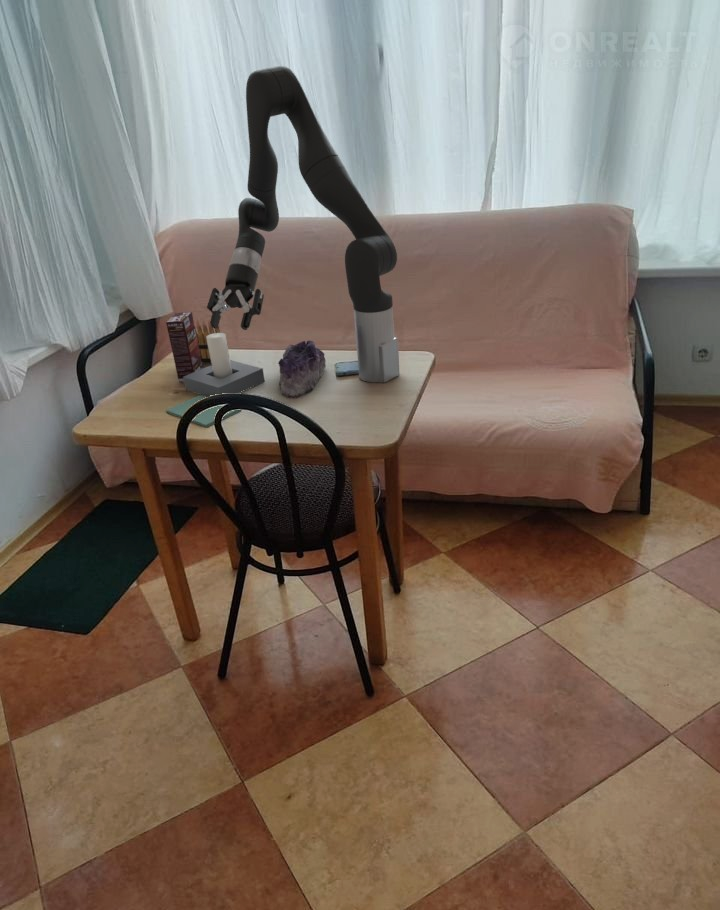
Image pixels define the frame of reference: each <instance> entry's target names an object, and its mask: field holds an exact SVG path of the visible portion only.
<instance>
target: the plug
mask: <svg viewBox="0 0 720 910" xmlns="http://www.w3.org/2000/svg"><path fill="white" fill-rule="evenodd" d="M206 339H207V344H208V349H209V354H210V359H211V363H210V364H211V365H212V369H213V373H214V377H217V378H220V379H222V378H224V377H227V376H229V375H231V374H233V373H232V367H231V362H230V360H231V358H230V352H229V351H230V350H229V347H228V341H227V336H226V333H225V332H220V333H215V332H214V333H213V334H210V335H208V336H206Z"/></svg>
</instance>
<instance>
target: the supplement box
mask: <svg viewBox="0 0 720 910" xmlns="http://www.w3.org/2000/svg"><path fill="white" fill-rule="evenodd" d="M165 324H166V325H165V326H166V329H167V332H168V333H167V334H168V339H169V343H170V347H171V351H172V355H173V356H172V357H173V360H174V365H175V370H176V374H177V375H176V376H177V379H178V382H180V383H181V382H183V383H184V379H183V377H184V376H186V375H189V374H191V373H194V372H196V371H199V370H201V369H203V368H204V366H203V363H202V360H201V355H200V350H199V345H198V340H197V336H196V331H197V330H196V331H195V327H196V325H195V326H194V324H195V321H194V316H193V312H192V311H191V312H189V311H186V312H175V313H174V315H173V316H171V318H170V319H168V320H167V321H166V323H165Z"/></svg>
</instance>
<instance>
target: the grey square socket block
mask: <svg viewBox="0 0 720 910" xmlns="http://www.w3.org/2000/svg"><path fill="white" fill-rule="evenodd" d="M230 362H231V367H232V373H233V374H231V375H229V376H227V377H224V378H222V379H220V378H217V377H214V373H213V369H212V364H211V365H208V366H206V367H203V369H201V370H199V371H196V372H194V373H191V374H189V375H186V376H184V377H183V379H184V382H183V384H184V387H185V388H184V389H185V390H186V391H188V392H191V393H194V394H198V395H202V396H205V397H207V396H210V395H215V394H222V393H238V394H240V393H242V392H241V391H243V390H245V391H247V390H249V389H251V388H250V387H252V388H253V386H254V387H256V386H257V385H260V384H263V383H264V382H266V380H265V375H264V368H263V367H258V366H255V365H252V364H248V363H244V362H243V363H242V362H239V361H235V360H231V359H230ZM248 388H249V389H248ZM246 389H247V390H246ZM243 392H244V391H243Z"/></svg>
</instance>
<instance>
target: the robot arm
mask: <svg viewBox="0 0 720 910" xmlns="http://www.w3.org/2000/svg"><path fill="white" fill-rule="evenodd" d="M245 88H246V89H245V103H246V117H247V118H246V119H247V132H248V143H249V144H248V145H249V165H248V175H247V192H248V193H249V195H251V197H245V198H244V199H243V200H242V201H240V203H239V205H238V211H237V212H238V213H237V215H238V237H237V240H236V244H235V248H234V251H233V254H232V256H231V259H230V262H229V266H228V270H227V273H226V278H225V281H224V282H225V283H224V284H225V287H224V288H223V289H217V287H213V288H212V290H211V293H210V296H209V299H208V302H207V305H206V309H207V310H209V312H211V317H210V324H211V326H212V327H213V329H214V330H215V329H217V328H218V325H220V320H221V317H222V314H223V313H225V312H226V311H228V310H230V308H231V309H233V308H238V309H242V308H243V310H244V313H243V314H242V318H241V322H240V328H241V329H242V330H244V331H247V330H248V329H249V328H250V327H251V322H252V318H253V317H254V316H255V315H257V316H259V315H261V313H262V309H263V308H262V307H263V304H264V297H265V294H264V293H263V291H262V290H261V289H260V288H257V289H256V285H257V281H258V277H259V273H260V270H261V265H262V264H261V263H262V257H263V253H264V250H265V245H266V240H265V237H264V236H263V234H262V233H260V232H259V231H256V230H260V231H263V232H267V233H269V232H273V231H274V230H275V229H277V227H278V225H279V221H280V214H279V207H278V202H277V195H276V194H277V193H276V192H277V191H276V189H277V182H278V171H279V165H278V164H279V163H278V158H277V155H276V153H275V150H274V148H273V146H272V144H271V142H270V141H271V140H270V139H269V130H268V129H269V124H270V119H271V117H275V116H276V117H277V116H279V115H283V114H284V115H285V116H286V117H287V119H288V120H289V122H290V123H291V124H292V126H293V129H294V131H295V133H296V137H297V141H298V142H297V144H298V148H297V149H298V152H297V153H298V156H297V157H298V167H299V173H300V175H301V178H302V179H303V180H304V182H305V184H306V186H307V187H308V189H309V191H310V192H311V194H312V195H313V197H314V198H315V200H316V201H317V202H318V203H319V204H320V205H322V206H323V208H325V209H326V210H327V211H329V212H330V213H331V214H333V215H334V216H335V217H336V218H337V219H339V220H340V221H341V222H342V223H344V224H345V226H346V227H347V228H348V229H349V231H350V232H351V234H352V235H353V237H354V239H353V240H352V241H350V243H348V245H347V247H346V250H345V253H344V267H345V274H346V282H347V283H346V284H347V289H348V294H349V297H350V299H351V302H352V304H353V305H352V306H353V317H354V318H353V319H354V330H355V341H356V354H357V355H356V356H357V364H358V376H359V379H360V380H362V381H364V382H367V383H387V382H389V381H391V380H392V379H394V378H396V377H398V376H400V374H401V373H400V356H399V353H400V352H399V338H398V337H395V326H394V309H393V308H394V307H393V295H392V294H391V292H388V291H386V290H382V286H381V280H380V277H381V276H384V275H386V274H388V273H390V272H391V271H393V270H394V268H396V265H397V261H398V253H397V249H396V247H395V244H394V242H393V240H392V239H391V237H390V236H389V234H388V233H387V232H386V230H385V229H384V228H383V225H381V223H380V222H379V221H378V219H377V217H375V215H374V213H373V212H372V211H371V209H370V208H369V206H368V204H367V203H366V201H365V199H364V198H363V196H362V194H361V193H360V191H359V190H358V188H357V186H356V185H355V183H354V182H353V180H352V178H351V176H350V174H349V172H348V170H347V169H346V167H345V165H344V163H343V161H342V160H341V158H340V156H339V154H338V153H337V152H336V150H335V149H334V147H333V146H332V144H331V142H330V141H329V139H328V137H327V135H326V134H325V131H324V129H323V128H322V125H321V124H320V121H318V118H317V117H316V114H315V112H314V109H313V108H312V106H311V103H310V102H309V99H308V97H307V95H306V92H305V91H304V90H305V89H304V88H303V86H302V85H301V82H300V81H299V78H298V77H297V75H296V74H295V72H294V71H293V70H292V69H291V68H289V67H288V66H286V65H277V66H273V67H266V68H261V69H257V70H254V71H253V72H251V73H250V74H249V75H248V78H247V82H246V87H245ZM252 197H253V198H252ZM254 229H256V230H254ZM252 299H253V300H252ZM251 300H252V301H253V302H252V306H251V304H250V301H251ZM224 303H225V304H224Z"/></svg>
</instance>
